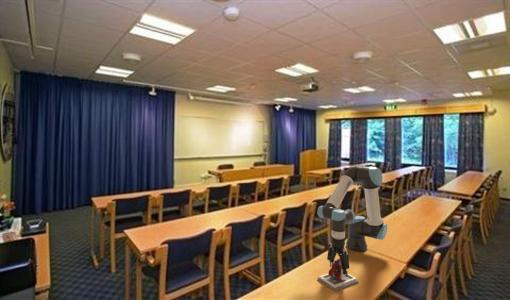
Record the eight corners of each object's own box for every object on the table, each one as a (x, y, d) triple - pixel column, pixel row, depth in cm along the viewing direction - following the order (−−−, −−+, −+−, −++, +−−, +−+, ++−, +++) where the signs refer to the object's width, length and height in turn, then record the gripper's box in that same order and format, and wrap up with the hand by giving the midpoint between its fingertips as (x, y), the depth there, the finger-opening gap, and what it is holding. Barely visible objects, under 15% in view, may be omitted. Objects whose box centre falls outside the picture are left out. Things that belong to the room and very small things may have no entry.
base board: (339, 272, 166) (339, 268, 166) (358, 282, 154) (358, 278, 154) (317, 279, 158) (317, 275, 158) (335, 291, 145) (335, 287, 145)
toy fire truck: (326, 277, 155) (326, 260, 154) (339, 271, 162) (339, 254, 162) (336, 282, 149) (336, 264, 149) (349, 275, 157) (349, 258, 157)
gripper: (320, 233, 162) (320, 270, 163) (347, 244, 144) (346, 286, 145) (330, 230, 166) (329, 267, 167) (357, 241, 148) (356, 282, 149)
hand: (337, 276), depth 156 cm, fingers closed on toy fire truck, 7 cm apart
